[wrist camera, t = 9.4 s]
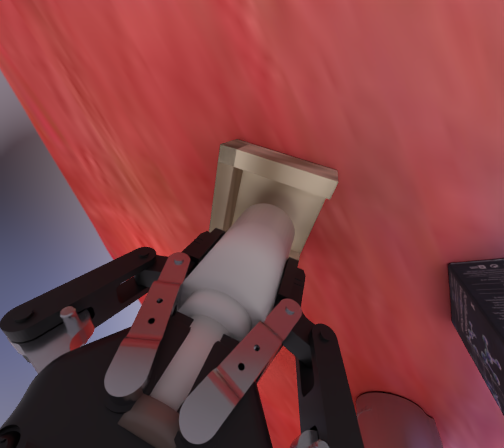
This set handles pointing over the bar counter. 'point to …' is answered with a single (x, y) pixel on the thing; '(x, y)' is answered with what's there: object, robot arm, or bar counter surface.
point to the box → (481, 317)
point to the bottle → (217, 312)
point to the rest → (269, 187)
